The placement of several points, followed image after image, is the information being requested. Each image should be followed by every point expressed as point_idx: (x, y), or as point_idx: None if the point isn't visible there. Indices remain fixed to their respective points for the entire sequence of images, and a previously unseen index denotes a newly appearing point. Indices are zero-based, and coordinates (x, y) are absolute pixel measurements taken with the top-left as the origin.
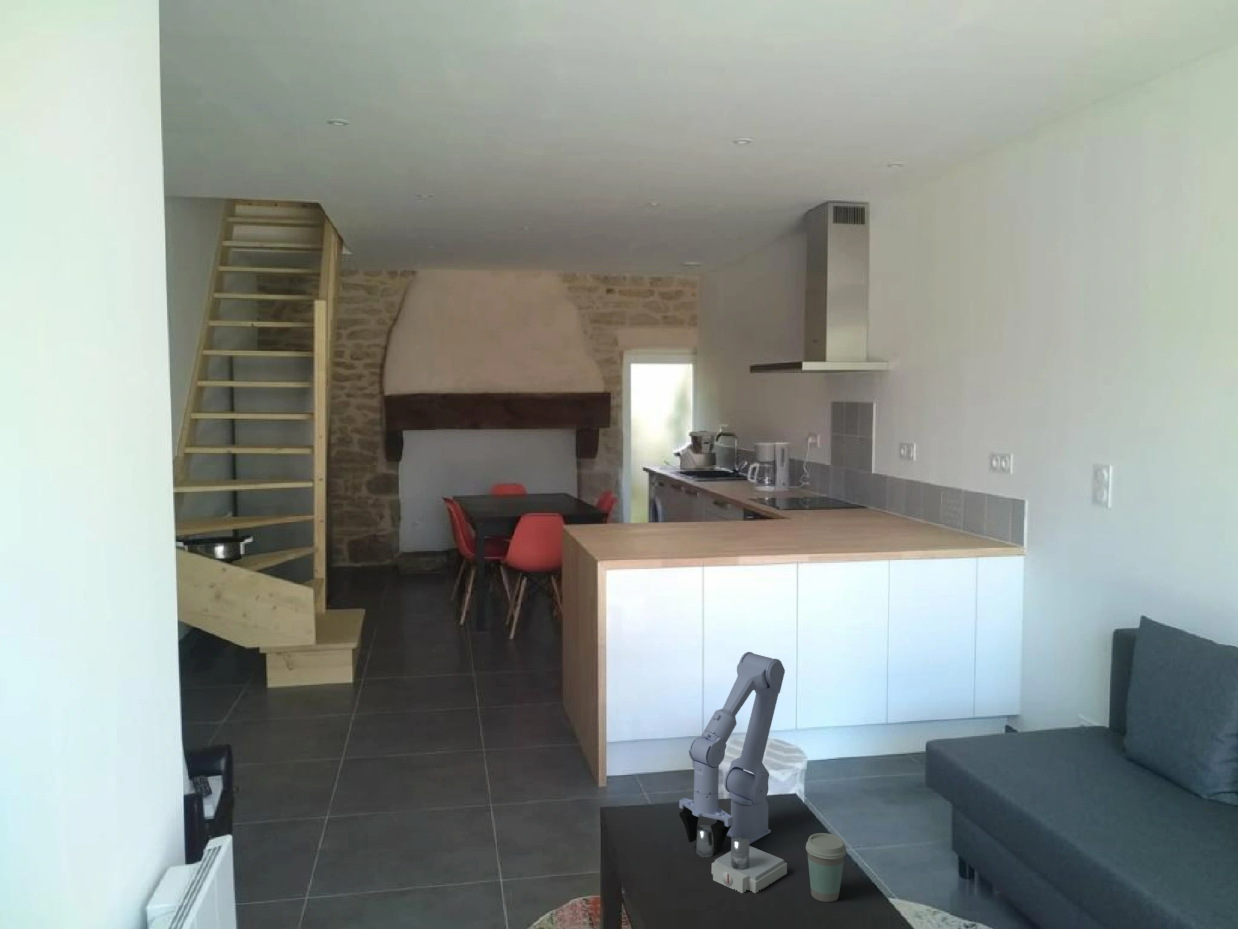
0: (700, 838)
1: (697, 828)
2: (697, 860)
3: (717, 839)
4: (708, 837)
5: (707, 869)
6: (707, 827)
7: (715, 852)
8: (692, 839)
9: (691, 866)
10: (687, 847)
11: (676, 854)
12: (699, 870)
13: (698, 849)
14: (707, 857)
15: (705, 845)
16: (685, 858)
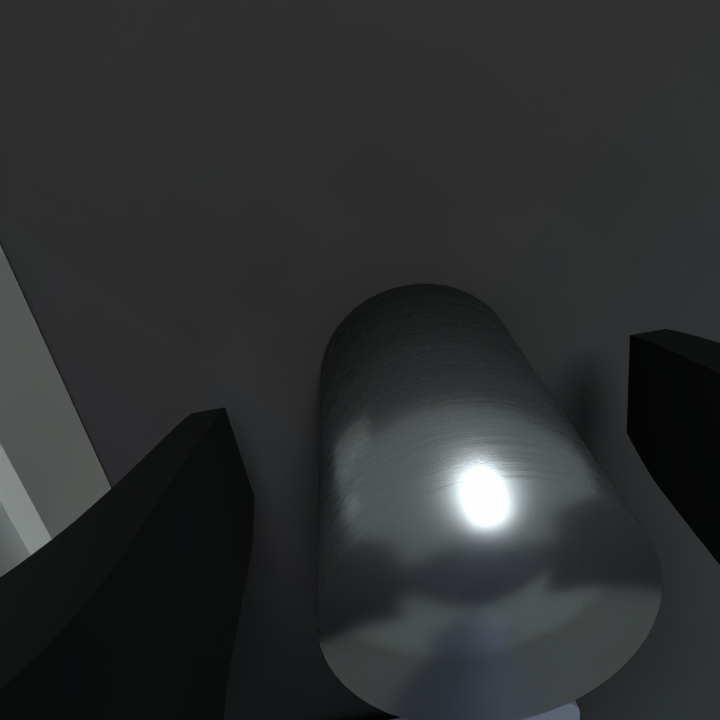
0: (433, 403)
1: (610, 517)
2: (346, 198)
3: (36, 557)
4: (325, 508)
5: (78, 145)
6: (499, 666)
7: (197, 415)
8: (645, 384)
9: (257, 3)
10: (658, 309)
11: (648, 64)
12: (100, 23)
13: (444, 315)
14: (330, 341)
15: (349, 395)
16: (484, 96)
